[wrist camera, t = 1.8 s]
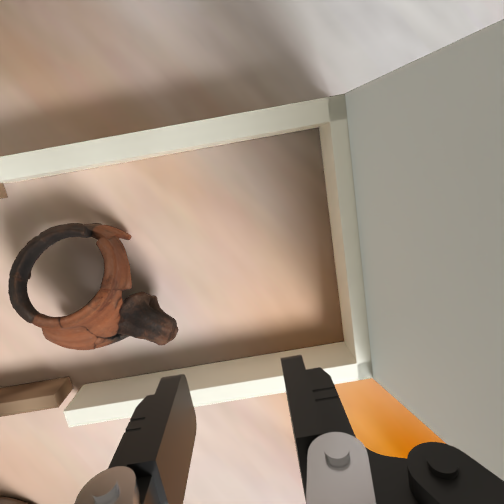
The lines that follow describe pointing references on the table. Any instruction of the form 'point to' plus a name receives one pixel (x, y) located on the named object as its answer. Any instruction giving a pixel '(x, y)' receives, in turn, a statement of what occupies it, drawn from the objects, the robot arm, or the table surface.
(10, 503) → the plant pot
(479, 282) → the cold frame
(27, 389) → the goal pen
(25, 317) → the pottery mug
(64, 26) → the table surface
